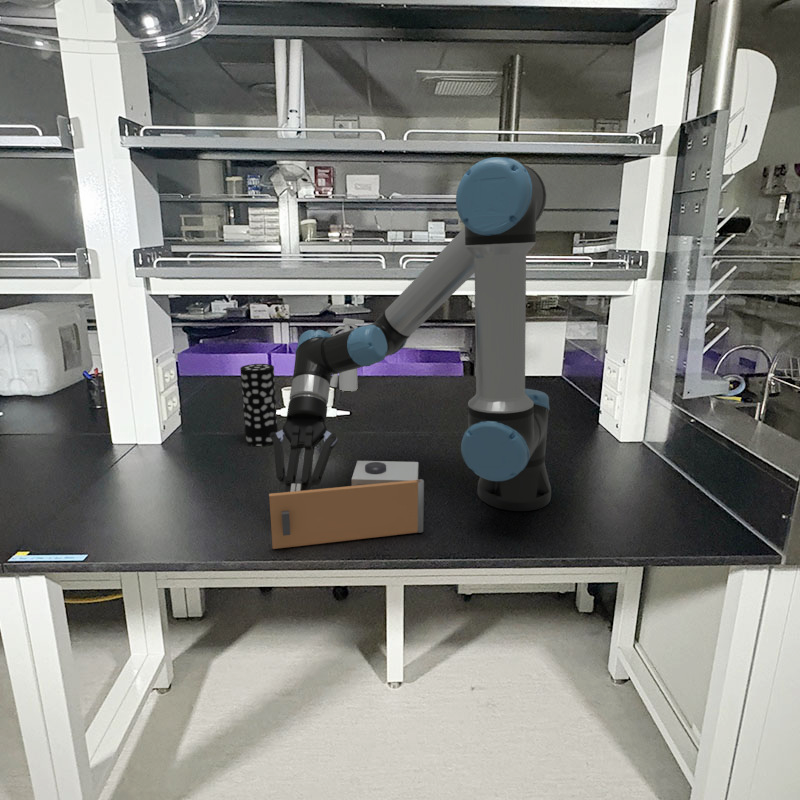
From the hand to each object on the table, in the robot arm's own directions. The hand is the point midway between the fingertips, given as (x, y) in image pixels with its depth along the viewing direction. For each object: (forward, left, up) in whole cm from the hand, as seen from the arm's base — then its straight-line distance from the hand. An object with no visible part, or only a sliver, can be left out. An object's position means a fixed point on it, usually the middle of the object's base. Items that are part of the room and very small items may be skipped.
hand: (293, 520), depth 104 cm
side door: (-10, 0, -4) cm, 11 cm away
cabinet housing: (-16, -10, -4) cm, 19 cm away
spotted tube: (+20, -51, -4) cm, 55 cm away
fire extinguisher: (+5, -105, -4) cm, 106 cm away
